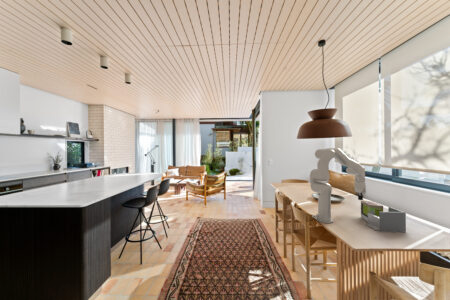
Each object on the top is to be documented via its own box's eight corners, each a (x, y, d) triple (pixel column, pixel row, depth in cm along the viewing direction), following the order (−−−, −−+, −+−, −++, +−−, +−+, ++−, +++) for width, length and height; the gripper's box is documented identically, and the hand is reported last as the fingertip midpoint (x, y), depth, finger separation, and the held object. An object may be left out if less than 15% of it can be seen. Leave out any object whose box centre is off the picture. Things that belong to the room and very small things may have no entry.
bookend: (376, 230, 140) (375, 218, 140) (364, 224, 152) (364, 212, 152) (381, 230, 139) (381, 218, 139) (369, 224, 152) (369, 212, 152)
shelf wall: (380, 231, 138) (380, 212, 138) (367, 224, 152) (367, 206, 152) (405, 232, 137) (405, 212, 137) (390, 224, 151) (390, 206, 151)
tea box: (384, 224, 152) (383, 205, 152) (369, 223, 154) (369, 205, 154) (373, 217, 167) (373, 200, 167) (360, 217, 169) (360, 200, 169)
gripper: (350, 178, 183) (351, 197, 183) (360, 181, 168) (361, 202, 168) (359, 178, 183) (359, 197, 183) (369, 181, 168) (370, 202, 168)
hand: (360, 199), depth 175 cm, fingers closed
